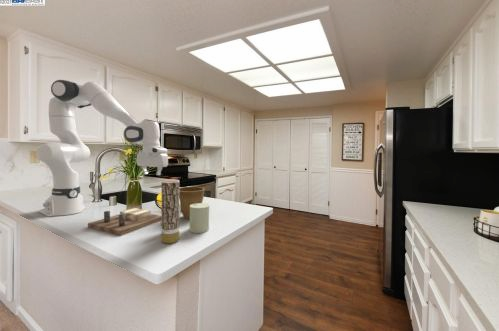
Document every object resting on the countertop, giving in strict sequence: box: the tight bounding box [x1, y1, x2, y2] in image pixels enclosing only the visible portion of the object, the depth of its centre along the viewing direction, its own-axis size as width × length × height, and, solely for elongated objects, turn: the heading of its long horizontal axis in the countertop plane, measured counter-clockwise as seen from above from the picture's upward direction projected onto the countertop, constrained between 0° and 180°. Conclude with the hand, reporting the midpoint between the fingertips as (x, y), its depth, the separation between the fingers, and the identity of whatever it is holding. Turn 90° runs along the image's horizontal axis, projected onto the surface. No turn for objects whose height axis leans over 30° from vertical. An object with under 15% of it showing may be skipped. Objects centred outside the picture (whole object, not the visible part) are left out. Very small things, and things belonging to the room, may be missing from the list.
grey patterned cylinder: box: [160, 178, 180, 245], centre depth 90 cm, size 7×7×25 cm
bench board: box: [87, 210, 161, 237], centre depth 109 cm, size 22×24×7 cm
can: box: [188, 202, 211, 234], centre depth 104 cm, size 9×9×12 cm
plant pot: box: [179, 186, 205, 220], centre depth 121 cm, size 15×15×16 cm
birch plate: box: [119, 207, 152, 221], centre depth 113 cm, size 12×8×3 cm, turn 68°
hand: (152, 174), depth 122 cm, fingers open, 8 cm apart
